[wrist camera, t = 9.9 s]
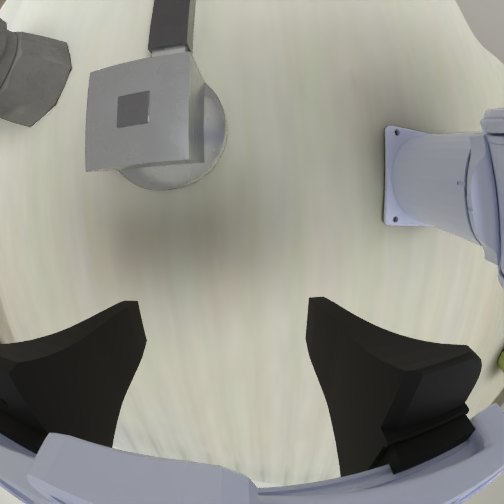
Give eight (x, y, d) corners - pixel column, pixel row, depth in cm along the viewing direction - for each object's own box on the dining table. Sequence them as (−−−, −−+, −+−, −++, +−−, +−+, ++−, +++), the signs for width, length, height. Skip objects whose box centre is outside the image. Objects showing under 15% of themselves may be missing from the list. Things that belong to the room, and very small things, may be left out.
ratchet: (228, -41, 12) (226, -74, 8) (228, 184, 19) (224, 188, 14) (143, -29, 12) (127, -56, 7) (124, 192, 19) (92, 200, 14)
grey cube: (204, 82, 14) (190, 50, 10) (204, 162, 16) (188, 159, 11) (126, 93, 14) (89, 72, 9) (125, 169, 16) (84, 171, 11)
